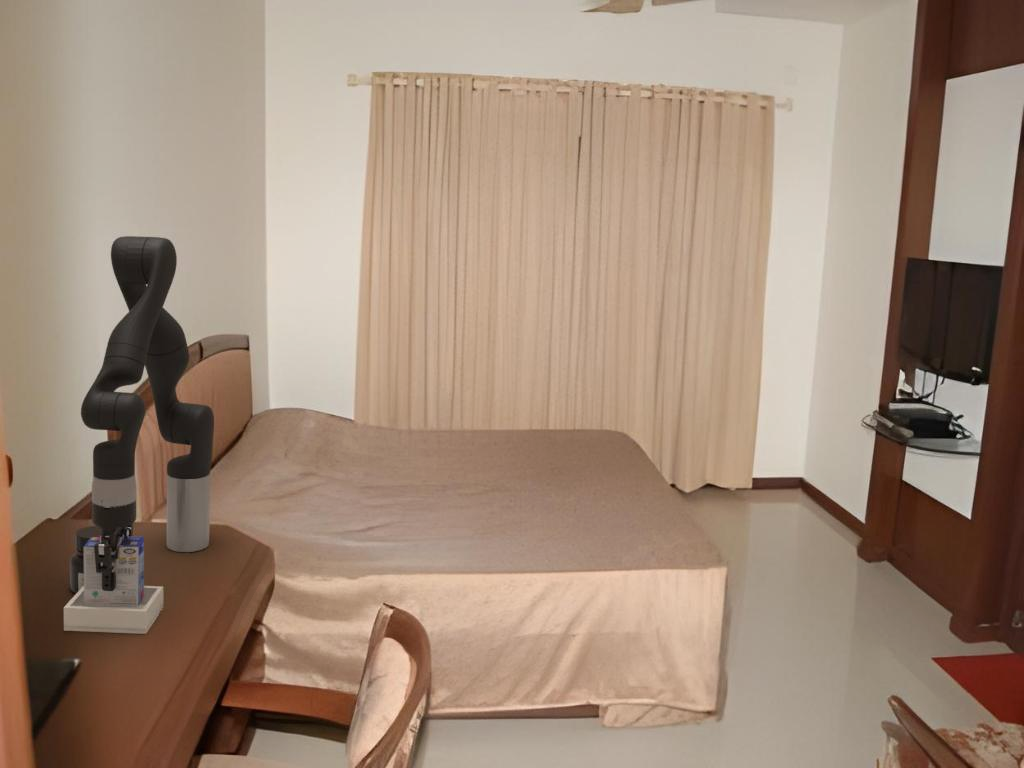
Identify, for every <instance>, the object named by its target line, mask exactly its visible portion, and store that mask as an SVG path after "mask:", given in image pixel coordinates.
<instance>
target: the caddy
mask: <svg viewBox="0 0 1024 768" xmlns="http://www.w3.org/2000/svg"><path fill="white" fill-rule="evenodd" d="M162 608H163V609H164V586H160V585H159V586H157V585H155V586H154V585H153V586H152V585H144V597H143V599H142V601H141V603H140V604H139V606H138V607H84V586H83V587H82V588H81V589H80V590H79V591H78V592H77V593H75V594H74V596H73V597H72V598H70V600H69V601H67V603H66V605H65V606H64V607H63V631H64V632H65V631H66V632H67V631H68V632H70V631H71V632H92V633H115V634H116V633H117V634H118V633H119V634H142V635H143V634H144V635H146V634H147V633H148V632H149V630H150V629H151V627H152V626H153V624H154V622H155V621H156V619H157V618H158V617H159V615H160V614H159V613H161V612H162V611H163V609H162ZM161 610H162V611H161ZM160 611H161V612H160Z"/></svg>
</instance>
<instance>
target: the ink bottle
mask: <svg viewBox="0 0 1024 768" xmlns="http://www.w3.org/2000/svg"><path fill="white" fill-rule="evenodd" d="M101 533H102V529H101V528H100V527H98V526H96V525H91V526H90V525H89V526H86V527H82V528H79V529H77V530H76V531H75V533H74V541H75V542H74V544H75V551H76V552H75V553H73V555H71V556H70V560H69V585H70V590H71V591H72V592H73V593H74V594H76V593H77V592H78V591H79V590H80V589H81V588H82V587H83V586H84V549H83V547H84V546H85V545H86V543H87V542H88V540H89V539H90V537H100V535H101Z"/></svg>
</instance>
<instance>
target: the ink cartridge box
mask: <svg viewBox="0 0 1024 768" xmlns="http://www.w3.org/2000/svg"><path fill="white" fill-rule="evenodd" d="M123 529H126V527H124V528H123ZM96 543H98V544H100V537H90V539H89V540H88V542H87V543H86V545H85V546H84V547H83V549H84V607H138V606H139V604H140V603H141V601H142V599H143V597H144V586H145V537H144V536H143V535H142V536H133V537H128V538H127V539H126V536H124V542H123V544H121V545H120V558H119V559H118V560H117V563H116V570H115V571H116V588H115V589H114V591H104V590H102V573H96V564H95V552H94V545H95V544H96ZM115 553H116V551H115V552H111V555H114V554H115ZM105 565H107V564H106V563H105Z"/></svg>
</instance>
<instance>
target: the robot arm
mask: <svg viewBox="0 0 1024 768" xmlns="http://www.w3.org/2000/svg"><path fill="white" fill-rule="evenodd" d="M177 259H178V258H177V252H176V249H175V245H174V244H173V242H172V241H171V240H170V239H169V238H166V237H160V236H159V237H158V236H131V235H130V236H128V235H127V236H125V235H124V236H119V237H117V238H116V239H115V240H114V241H113V242H112V245H111V250H110V260H111V267H112V270H113V271H112V272H113V273H114V277H115V279H116V282H117V285H118V287H119V289H120V291H121V294H122V297H123V300H124V302H125V304H126V307H127V309H128V312H127V313H126V314H125V315H124V316H123V317H122V318H121V320H120V321H119V322H118V323H117V324H116V325H115V327H114V328H113V329H112V332H111V333H110V335H109V337H108V342H107V346H106V349H105V352H104V353H105V354H104V358H103V362H102V365H101V368H100V370H99V373H98V374H97V376H96V378H95V380H94V381H93V383H92V385H91V386H90V388H89V390H88V391H87V393H86V394H85V396H84V398H83V401H82V403H81V407H80V416H81V420H82V422H83V424H84V426H86V427H87V428H89V429H92V430H97V431H115V432H120V437H119V438H116V439H111V440H106V441H101V442H99V443H97V444H95V446H94V447H93V451H92V472H93V473H92V484H91V521H92V522H91V523H93V526H98V527H100V528H101V529H102V533H101V535H100V544H98V543H96V544H95V545H94V552H95V564H96V573H102V590H104V591H114V589H115V588H116V571H115V570H116V563H117V560H118V559H119V558H120V545H121V544H123V542H124V536H126V539H127V538H128V537H134V536H133V535H134V523H135V522H136V520H137V481H136V474H135V473H136V468H135V467H136V466H135V465H136V449H137V444H138V443H137V442H138V439H139V435H140V431H141V428H142V425H143V422H144V419H145V416H146V404H145V402H144V400H143V398H142V397H141V395H139V394H137V393H134V392H127V391H126V392H125V391H123V392H122V391H116V390H117V389H119V388H122V387H126V386H131V385H136V384H138V383H140V381H141V380H142V378H143V376H144V375H143V374H144V369H145V370H146V374H147V376H148V381H149V384H150V388H151V393H152V397H153V403H154V408H155V409H154V410H155V416H156V421H157V426H158V430H159V433H160V436H161V437H162V439H163V440H164V441H165V442H168V443H171V444H177V445H187V446H190V450H189V451H190V452H189V453H187V454H183V455H179V456H175V457H173V458H172V459H170V460H169V461H168V462H167V465H166V547H167V550H171V551H172V552H178V553H191V552H198V551H202V550H205V549H206V548H207V547H209V546H210V523H211V521H210V519H211V518H210V517H211V516H210V514H211V509H210V508H211V507H210V506H211V466H212V465H211V464H212V458H213V446H214V433H215V432H214V431H215V416H214V412H213V409H212V408H211V407H210V406H209V405H205V404H198V403H190V402H188V403H187V402H181V401H180V400H179V398H178V395H177V391H176V388H177V385H178V384H179V382H180V380H181V379H182V377H183V375H184V373H185V371H186V370H187V368H188V365H189V363H190V351H189V346H188V342H187V339H186V335H185V332H184V329H183V328H182V326H181V324H180V323H179V322H178V321H177V320H176V319H175V317H174V316H173V315H171V313H169V312H168V310H167V309H165V308H164V305H165V302H166V300H167V297H168V294H169V291H170V289H171V286H172V284H173V281H174V278H175V275H176V270H177V264H178V263H177ZM124 527H126V529H123V528H124ZM115 551H116V553H115V554H114V555H111V552H115ZM105 563H106V564H107V565H105Z"/></svg>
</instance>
